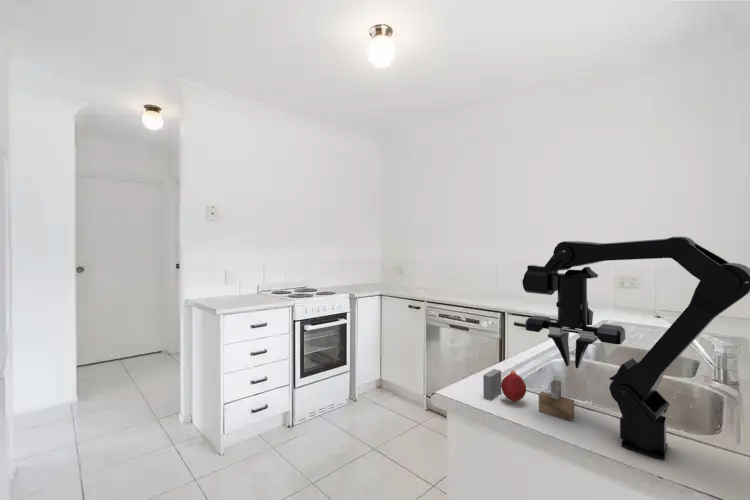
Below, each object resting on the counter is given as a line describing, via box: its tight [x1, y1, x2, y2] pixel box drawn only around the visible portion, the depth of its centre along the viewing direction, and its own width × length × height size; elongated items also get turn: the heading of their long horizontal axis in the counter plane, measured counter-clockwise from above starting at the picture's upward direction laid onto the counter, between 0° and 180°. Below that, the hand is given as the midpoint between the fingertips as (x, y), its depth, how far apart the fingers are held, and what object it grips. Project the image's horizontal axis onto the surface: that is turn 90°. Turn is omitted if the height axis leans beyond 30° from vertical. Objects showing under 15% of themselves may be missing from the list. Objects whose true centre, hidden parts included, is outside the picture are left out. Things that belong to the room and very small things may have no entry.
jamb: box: [482, 368, 502, 401], centre depth 92 cm, size 2×6×6 cm, turn 136°
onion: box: [501, 369, 527, 403], centre depth 88 cm, size 6×6×8 cm
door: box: [538, 379, 575, 422], centre depth 81 cm, size 7×2×8 cm, turn 46°
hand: (572, 366), depth 78 cm, fingers closed
